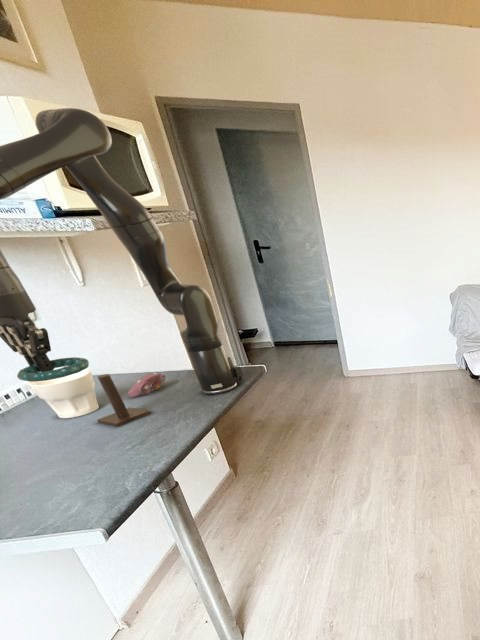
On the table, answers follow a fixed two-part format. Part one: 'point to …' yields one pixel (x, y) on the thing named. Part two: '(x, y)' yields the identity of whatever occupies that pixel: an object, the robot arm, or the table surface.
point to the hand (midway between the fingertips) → (43, 370)
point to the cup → (68, 394)
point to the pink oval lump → (147, 384)
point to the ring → (72, 367)
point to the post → (118, 405)
